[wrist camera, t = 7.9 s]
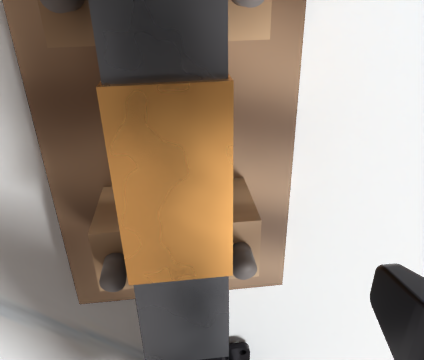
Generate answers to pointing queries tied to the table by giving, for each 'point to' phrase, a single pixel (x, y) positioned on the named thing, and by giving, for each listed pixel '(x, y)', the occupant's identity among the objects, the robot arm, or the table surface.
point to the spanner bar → (171, 165)
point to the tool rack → (96, 149)
